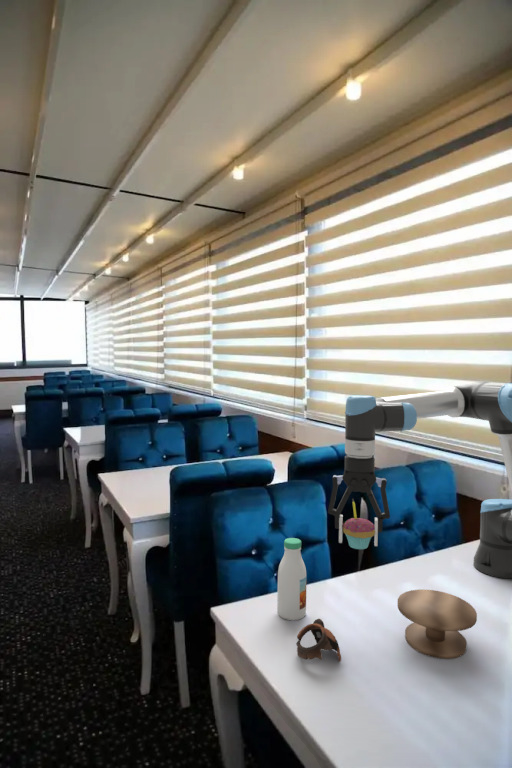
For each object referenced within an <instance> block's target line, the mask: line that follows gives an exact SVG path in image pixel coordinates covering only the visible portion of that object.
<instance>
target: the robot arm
mask: <svg viewBox="0 0 512 768" xmlns="http://www.w3.org/2000/svg"><path fill="white" fill-rule="evenodd" d="M344 414H345V415H344V417H345V420H344V421H345V423H344V424H345V430H344V431H345V434H344V436H345V437H344V453H345V456H344V471H343V474H342V475H341V474H340V475H337V474H334V475H333V476H332V480H331V481H332V490H331V494H330V499H329V500H330V501H329V504H328V509H327V513H328V514H329V515H332V516H334V528H335V529H336V530H338V543H339V544H343V527H342V524H344V520H343V517H344V515H343V514H342V512H343V510H344V508H345V505H346V504H347V501H348V500H349V497H350V495H351V494H352V493H357V492H359V493H366V496H367V497H368V500H369V502H370V504H371V506H372V508H373V511H374V514H375V516H376V517H374V525H375V535H374V536H373V537H374V538H373V539H374V541H373V543H374V544H373V545H374V547H378V542H379V541H378V540H379V539H378V535H379V534H380V533H382V532H383V522H384V520H387V519H390V518H391V514H390V508H389V502H388V497H387V490H386V488H387V483H388V482H387V479H386V478H385V477H382V478H380V477H377V476H376V474H375V467H376V466H375V464H376V463H375V462H376V461H375V457H374V455H375V454H376V433H380V432H403V431H410V430H412V429H414V427H415V426H416V424H417V422H418V419H425V418H426V419H427V418H436V417H443V416H449V417H451V418H459V417H460V418H461V417H462V418H470V419H475V420H476V419H477V420H480V421H481V420H482V421H487V422H488V423H489V428H490V431H491V433H492V434H494V435H496V436H497V437H498V441H499V445H500V451H501V453H502V454H501V455H502V457H503V462H504V466H505V472H506V474H507V476H506V477H507V479H508V484H509V488H510V492H511V494H512V382H489V381H488V382H487V381H479V382H473V383H467V384H462V385H461V384H460V385H455V386H448V387H445V389H444V390H440V391H439V390H438V391H432V392H429V391H428V392H422V393H409V394H402V395H393V396H384V397H383V396H382V397H376V396H374V395H359V394H358V395H356V394H355V395H354V394H353V395H350V396H348V397H347V398H346V402H345V412H344ZM342 481H343V482H344V483H345V485H346V486H347V487H346V489H345V492H344V494H343V496H342V498H341V500H340V502H339V504H338V506H337V508H334V507H335V503H336V500H337V493H338V488H339V485H341V483H342ZM375 483H376V484H377V487H379V489H380V495H381V501H382V505H383V506H382V507H383V511H384V512H382V511H381V508H380V507H379V504H378V502H377V498H375V495H374V493H373V490H372V487H373V486H374V484H375ZM480 506H481V507H480V512H479V514H480V517H479V523H480V524H479V525H480V526H479V544H478V547H477V548H476V551H475V554H474V556H473V564H472V565H473V567H474V568H475V569H476V570H477V571H479V572H481V573H483V574H485V575H487V576H491V577H495V578H499V579H501V578H502V579H509V580H511V579H512V499H510V498H509V499H508V498H490V499H485V500H483V501H482V502H481V504H480ZM378 533H379V534H378Z"/></svg>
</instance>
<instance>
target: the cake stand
mask: <svg viewBox="0 0 512 768" xmlns="http://www.w3.org/2000/svg"><path fill="white" fill-rule="evenodd" d="M397 609H398V611H399V612H400V614H401V615H402V616H403V617H404V618H406V619H407V620H409V621H411V622H412V623H409V625H407V626H406V628H405V631H404V637H405V640H406V643H407V644H408V645H409V646H410V647H411V648H412V649H413V650H415V651H417V652H418V653H421V654H422V655H425V656H427V657H432V658H435V659H441V660H453V659H458V658H460V657H462V656H463V655H464V654H466V652H467V648H468V647H467V639H466V638H465V636H464V635H463V634H462V633H461V631H465V630H469V629H471V628H472V627H474V626H475V625H476V623H477V621H478V620H477V619H478V613H477V610H476V609H475V608H474V607H473V606H472V605H471V604H470V603H469V602H467V601H466V599H465V600H464V599H462V598H461V597H459V596H457V595H453V594H452V593H447V592H443V591H441V590H440V591H439V590H434V589H424V588H423V589H412V590H409V591H405V592H403V593H401V594H400V595H399V596H398V597H397Z"/></svg>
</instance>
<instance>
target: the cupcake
mask: <svg viewBox="0 0 512 768" xmlns="http://www.w3.org/2000/svg"><path fill="white" fill-rule="evenodd" d="M352 510H353V517H351V518H349V519H347V520H346V521H343V524H342V527H343V531H342V533H343V534H345V537H346V540H347V542H348V546H349V547H350V548H352V549H354V550H365V549H367V548H368V547H369V545H370V542H371V539H372V537H374V535H375V523H373V522H371V520H369V519H367V518H361V517H357V516H358V515H357V508H356V502H355V500H354V499H352Z"/></svg>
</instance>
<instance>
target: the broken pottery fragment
mask: <svg viewBox="0 0 512 768" xmlns="http://www.w3.org/2000/svg"><path fill="white" fill-rule="evenodd" d="M308 632H310V633H311V634H312V636H313V638H314V640H315V643H316V644H314V645H313V646H309V647H304V646H303V645H302V644H301V641H302V639H303V637H304V636H305V635H306V634H307V633H308ZM296 637H297V639H298V640H297V641H296V643H295V644H296V652H297V656H298V657H300V658H301V659H304V660H314V659H319V660H323V657H322V650H323V651H332V650H334V651H335V652H336V657H337V660H338V662H341V661H342V655H341V650H340V646H339V642H338V640H337V638H336V636H335V634H334V633H333V632H332V631H331V630H330V629H328V628H326V627H325V624H324V621H323V619H320V618H317V619H315V620H313V622H312V623H309V624H307V625H305V626H304V627H302V628H301V629H300V630H299V632H298V633H297V636H296Z"/></svg>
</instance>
